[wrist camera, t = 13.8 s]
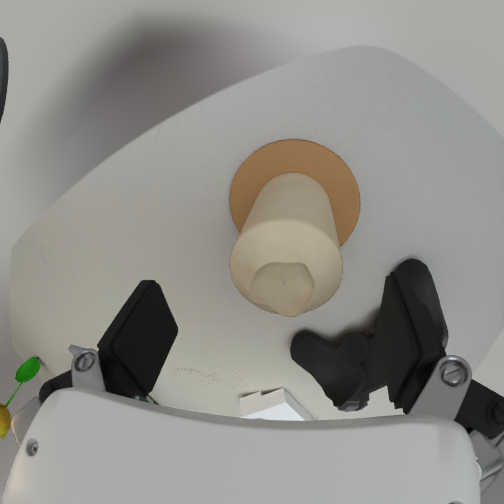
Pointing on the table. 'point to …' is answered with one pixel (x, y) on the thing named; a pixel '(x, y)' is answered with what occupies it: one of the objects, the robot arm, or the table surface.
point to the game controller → (361, 350)
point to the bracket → (272, 407)
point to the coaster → (305, 162)
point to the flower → (27, 371)
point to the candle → (288, 248)
